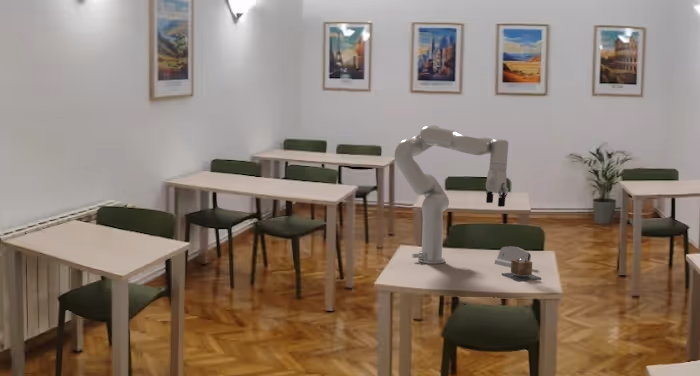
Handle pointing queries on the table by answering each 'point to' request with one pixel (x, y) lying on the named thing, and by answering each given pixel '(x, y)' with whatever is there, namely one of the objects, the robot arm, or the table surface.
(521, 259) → the post
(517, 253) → the hinge
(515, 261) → the collar
